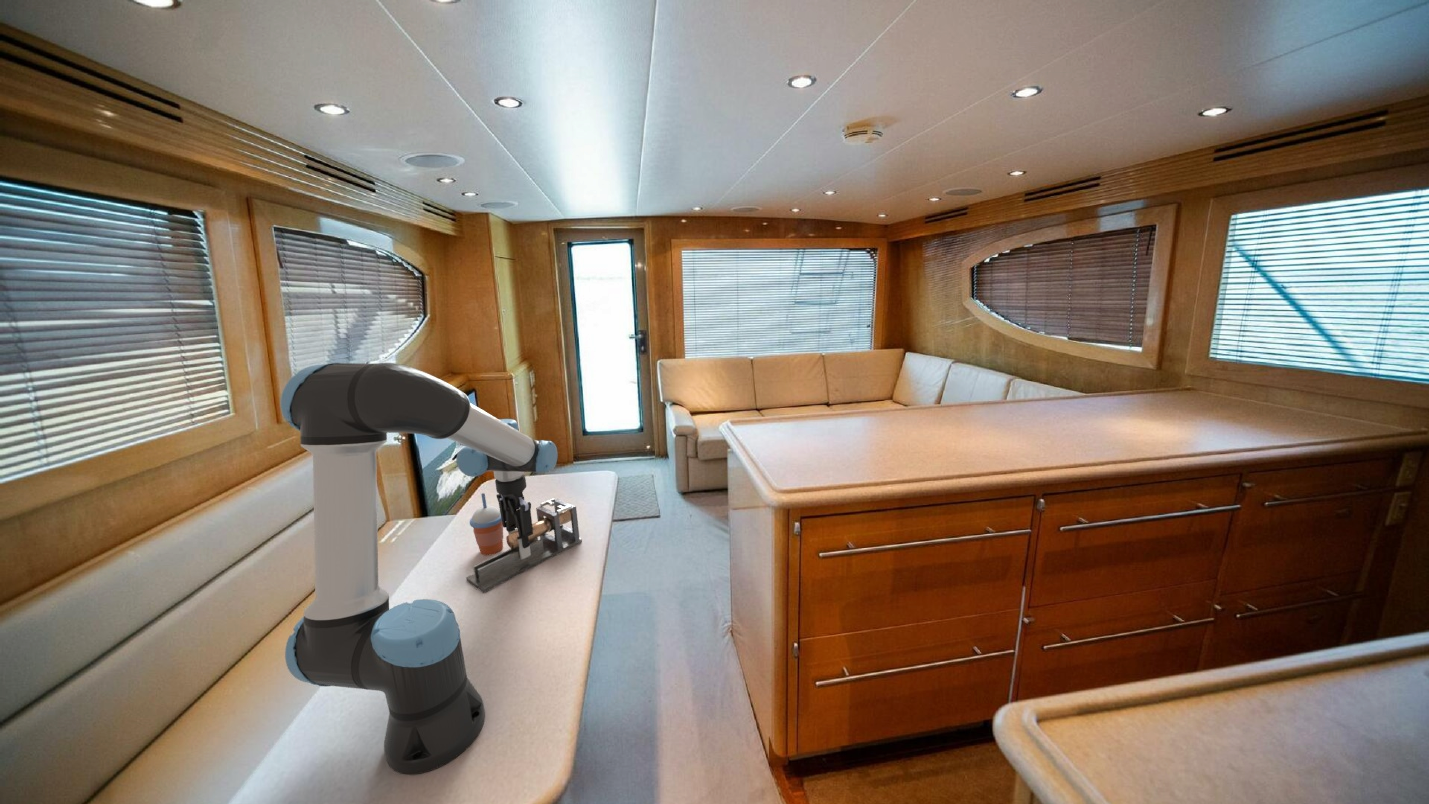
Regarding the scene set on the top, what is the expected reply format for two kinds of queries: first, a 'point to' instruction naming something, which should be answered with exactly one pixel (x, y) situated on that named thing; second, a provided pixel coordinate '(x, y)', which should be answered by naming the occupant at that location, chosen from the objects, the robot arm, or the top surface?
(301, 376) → the robot arm
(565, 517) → the tan wooden rod
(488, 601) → the top surface
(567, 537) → the collar rail
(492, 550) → the cup with straw
